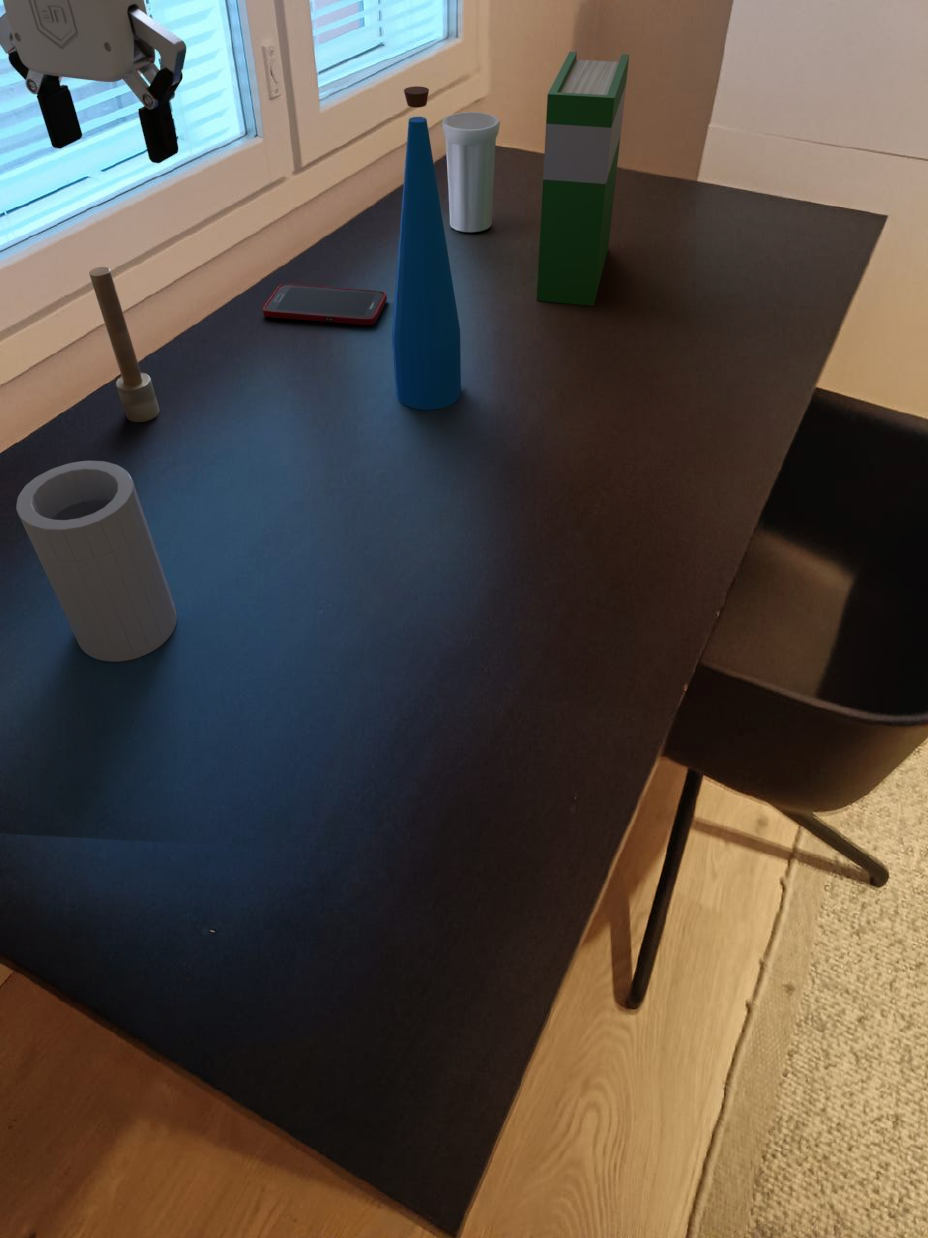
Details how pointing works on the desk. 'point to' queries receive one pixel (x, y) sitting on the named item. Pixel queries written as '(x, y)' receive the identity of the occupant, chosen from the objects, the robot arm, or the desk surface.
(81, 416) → the desk surface
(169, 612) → the grey hollow tube
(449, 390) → the bottle
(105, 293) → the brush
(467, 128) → the cup
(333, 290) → the cell phone
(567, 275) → the hardback book
